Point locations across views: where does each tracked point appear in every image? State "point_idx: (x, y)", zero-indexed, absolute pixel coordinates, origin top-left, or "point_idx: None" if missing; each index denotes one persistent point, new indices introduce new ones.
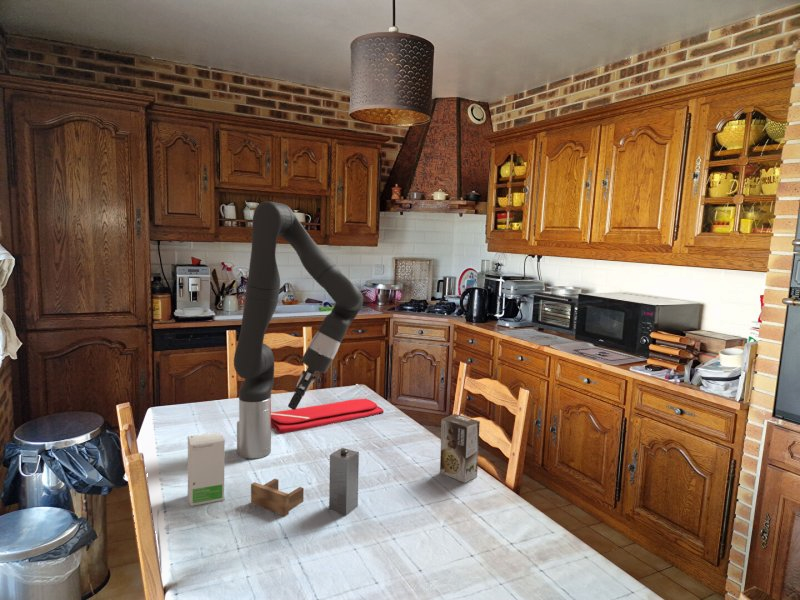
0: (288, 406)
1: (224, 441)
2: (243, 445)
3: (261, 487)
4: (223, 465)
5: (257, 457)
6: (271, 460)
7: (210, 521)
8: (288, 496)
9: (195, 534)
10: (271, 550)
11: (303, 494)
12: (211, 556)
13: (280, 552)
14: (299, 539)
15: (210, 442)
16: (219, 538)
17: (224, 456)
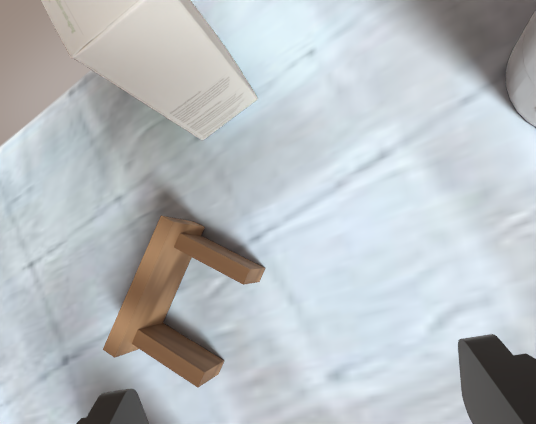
0: (104, 396)
1: (75, 59)
2: (528, 22)
3: (145, 257)
4: (141, 101)
5: (516, 108)
6: (511, 173)
7: (112, 157)
8: (118, 355)
9: (68, 152)
10: (26, 338)
11: (208, 380)
12: (9, 221)
13: (21, 360)
14: (60, 394)
15: (47, 12)
16: (57, 209)
17: (124, 89)
